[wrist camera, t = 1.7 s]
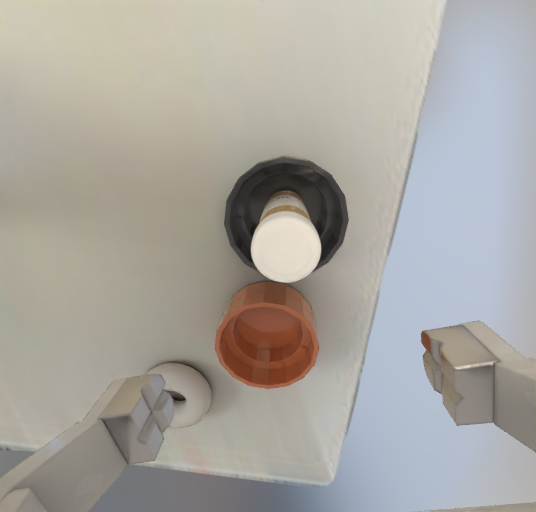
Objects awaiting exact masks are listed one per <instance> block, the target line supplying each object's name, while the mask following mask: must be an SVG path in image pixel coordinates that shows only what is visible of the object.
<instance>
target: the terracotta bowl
mask: <svg viewBox="0 0 536 512" xmlns="http://www.w3.org/2000/svg"><path fill="white" fill-rule="evenodd" d="M215 350H216V353H217V355H218V358H219V361H220V363H221V365H222V366H223V367H224V368H225V369H226V370H227V371H228V372H229V373H230V375H231V376H232V377H234V378H235V379H237V380H239V381H241V382H243V383H245V384H247V385H249V386H254V387H260V388H266V389H271V388H278V387H285V386H289V385H291V384H292V383H294V382H296V381H298V380H300V379H302V378H304V377H305V375H306V374H307V373H308V372H309V371H310V369H311V368H312V367H313V366H314V365H315V362H316V358H317V354H318V350H319V345H318V339H317V333H316V327H315V321H314V317H313V312H312V308H311V306H310V304H309V303H308V302H307V301H306V299H305V298H304V297H303V295H302V294H301V293H300V292H298V291H296V290H294V289H293V288H291V287H289V286H288V285H286V284H281V283H275V282H269V281H265V282H260V283H255V284H250V285H248V286H246V287H244V288H243V289H241V290H240V291H238V292H237V293H235V294H234V295H233V297H232V298H231V300H230V302H229V303H228V305H227V306H226V308H225V311H224V313H223V316H222V319H221V321H220V324H219V327H218V329H217V333H216V342H215Z"/></svg>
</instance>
